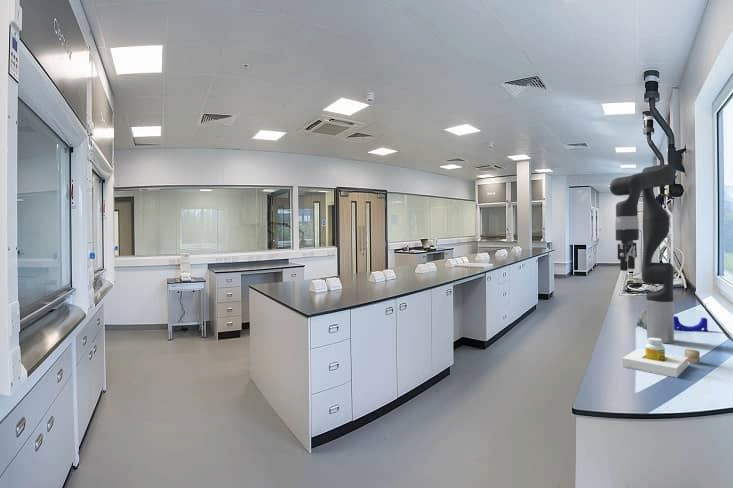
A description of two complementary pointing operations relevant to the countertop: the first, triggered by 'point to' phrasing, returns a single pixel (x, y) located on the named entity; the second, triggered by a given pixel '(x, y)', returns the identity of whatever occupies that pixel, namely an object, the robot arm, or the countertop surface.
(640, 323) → the mineral rock
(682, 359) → the collar block
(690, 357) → the short birch peg
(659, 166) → the robot arm
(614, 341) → the countertop surface
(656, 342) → the supplement bottle
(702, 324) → the blue cradle block
